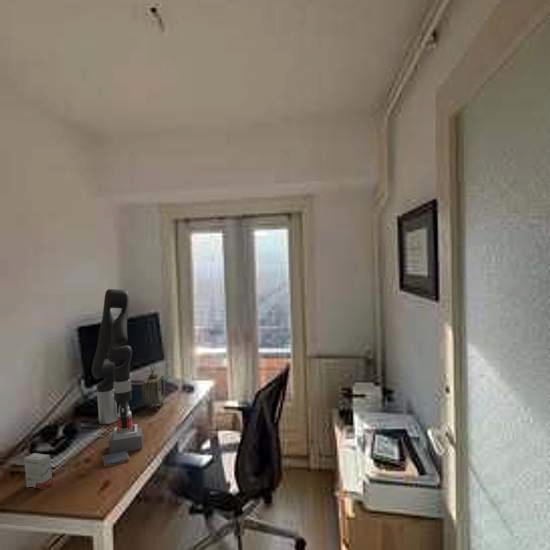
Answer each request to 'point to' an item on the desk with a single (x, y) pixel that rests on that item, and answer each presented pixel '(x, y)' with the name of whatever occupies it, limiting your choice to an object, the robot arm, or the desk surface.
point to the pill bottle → (129, 422)
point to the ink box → (38, 470)
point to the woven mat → (115, 458)
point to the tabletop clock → (153, 389)
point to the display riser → (126, 440)
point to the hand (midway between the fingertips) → (125, 425)
